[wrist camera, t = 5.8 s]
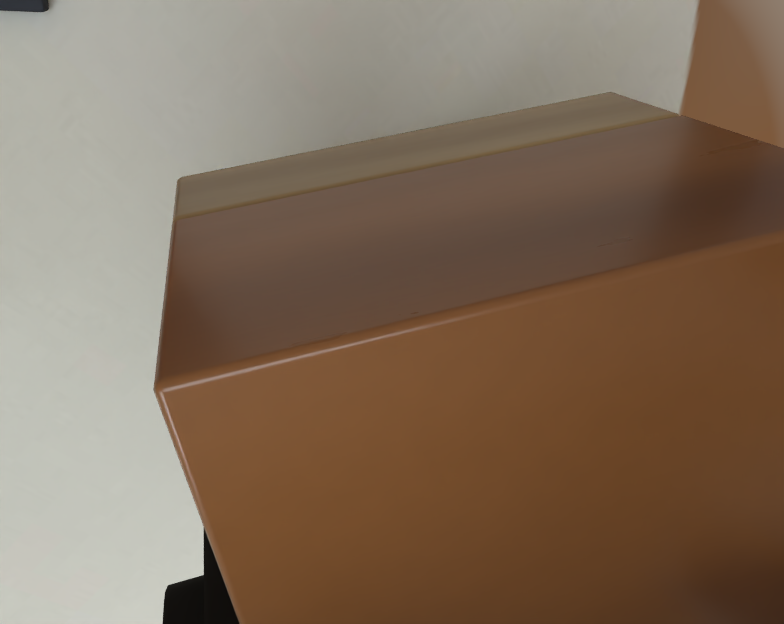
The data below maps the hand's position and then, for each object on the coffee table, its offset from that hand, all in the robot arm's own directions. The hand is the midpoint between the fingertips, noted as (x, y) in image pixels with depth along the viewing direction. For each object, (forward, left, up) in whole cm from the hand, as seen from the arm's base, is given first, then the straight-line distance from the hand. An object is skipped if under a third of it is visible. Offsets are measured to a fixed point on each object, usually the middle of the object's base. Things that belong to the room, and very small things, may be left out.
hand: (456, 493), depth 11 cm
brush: (0, 0, 0) cm, 0 cm away
